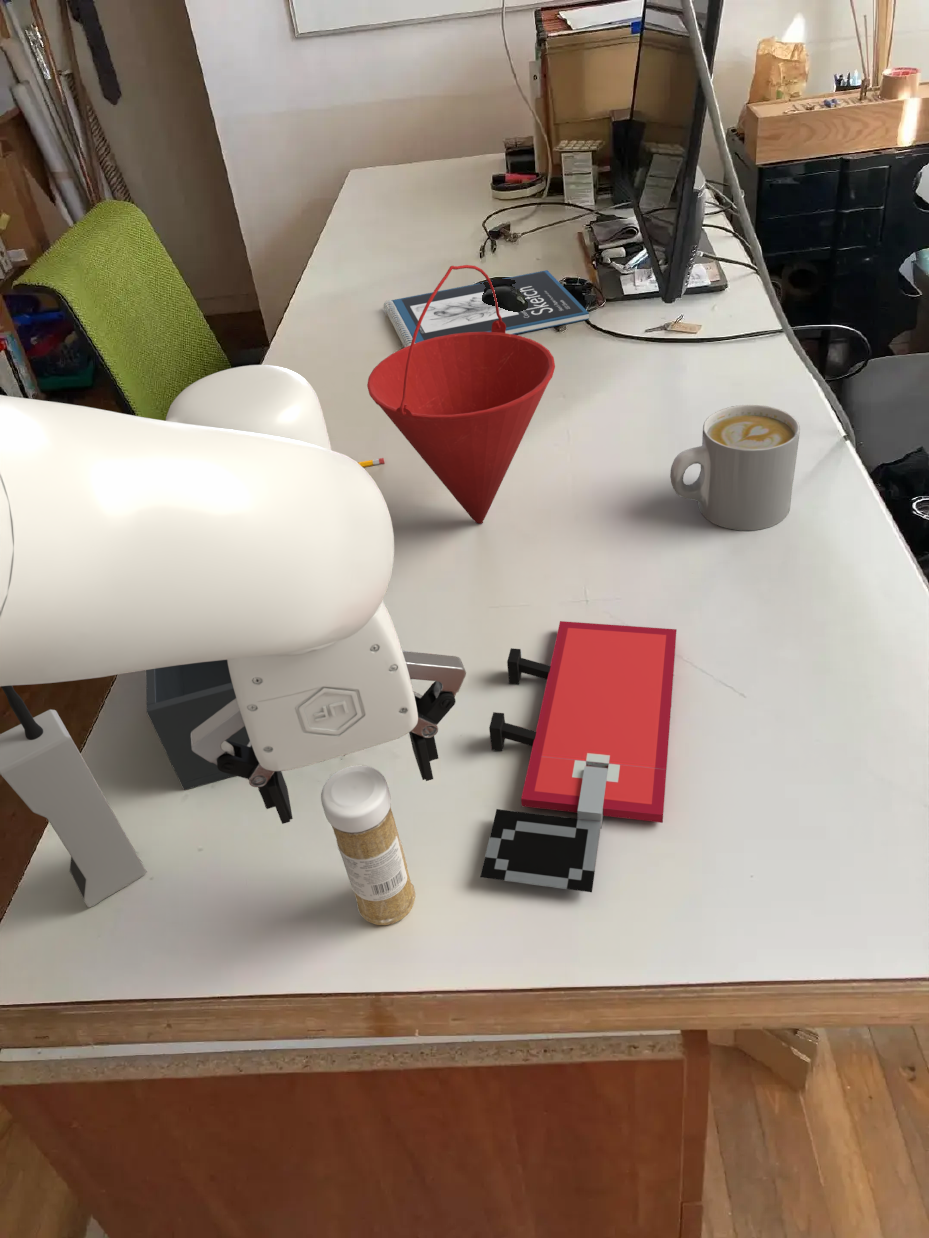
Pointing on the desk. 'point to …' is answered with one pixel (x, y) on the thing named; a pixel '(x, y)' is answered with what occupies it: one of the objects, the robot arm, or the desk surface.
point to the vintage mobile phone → (67, 801)
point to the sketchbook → (485, 310)
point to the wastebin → (189, 714)
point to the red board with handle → (585, 750)
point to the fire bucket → (465, 402)
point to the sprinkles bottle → (369, 843)
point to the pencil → (371, 462)
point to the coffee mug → (742, 467)
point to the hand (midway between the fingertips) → (355, 785)
